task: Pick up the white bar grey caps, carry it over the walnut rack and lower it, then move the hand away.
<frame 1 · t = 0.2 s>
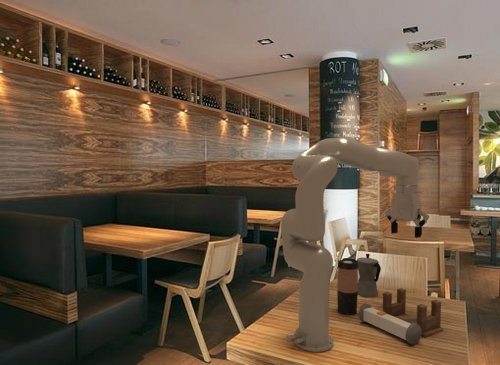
hand: (405, 235, 141), 31 cm above the table, fingers open, 9 cm apart
coffeepot: (368, 295, 165), on the table
white bar grey caps: (388, 332, 128), on the table
travel mug: (347, 312, 146), on the table
walnut rack: (410, 324, 134), on the table
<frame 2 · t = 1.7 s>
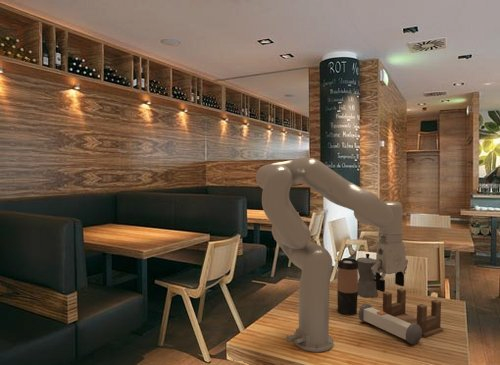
hand: (390, 287, 127), 15 cm above the table, fingers open, 9 cm apart
nothing on the table moved.
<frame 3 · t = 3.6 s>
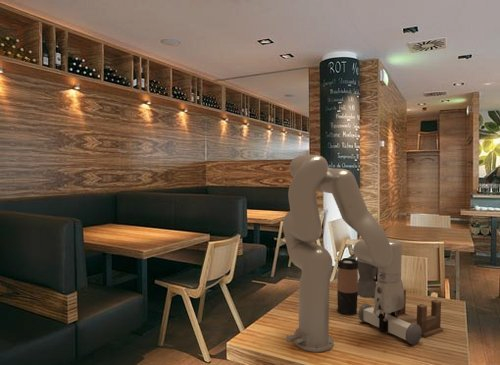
hand: (388, 328, 128), 1 cm above the table, fingers closed on white bar grey caps, 4 cm apart
white bar grey caps: (388, 332, 128), on the table, touching gripper
everything else where it was.
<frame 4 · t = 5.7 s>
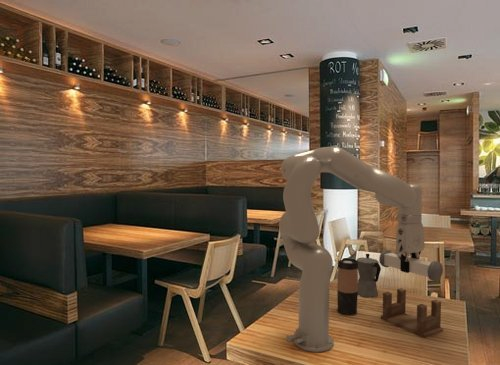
hand: (409, 270, 132), 20 cm above the table, fingers closed on white bar grey caps, 4 cm apart
white bar grey caps: (409, 273, 132), point 19 cm above the table, touching gripper
everything else where it was.
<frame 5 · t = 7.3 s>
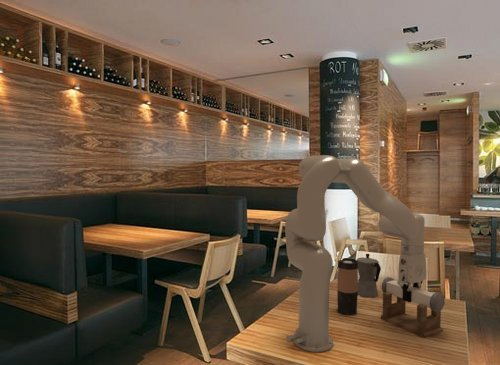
hand: (411, 299, 134), 9 cm above the table, fingers closed on white bar grey caps, 4 cm apart
white bar grey caps: (411, 302, 134), point 8 cm above the table, touching gripper
everything else where it was.
when the fingers open (6 cm above the table, at t = 8.2 s): white bar grey caps stays where it is, resting on walnut rack.
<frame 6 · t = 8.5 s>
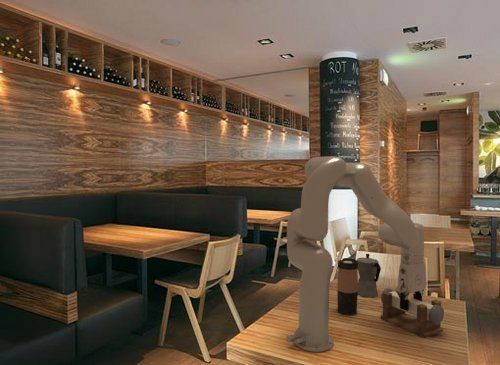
hand: (410, 307, 134), 6 cm above the table, fingers open, 6 cm apart
white bar grey caps: (410, 314, 134), point 4 cm above the table, touching walnut rack
everything else where it was.
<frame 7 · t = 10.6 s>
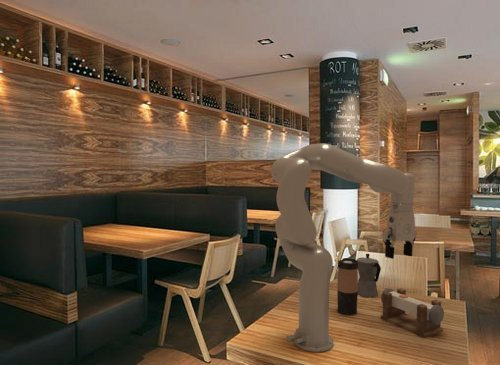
hand: (398, 256, 132), 25 cm above the table, fingers open, 9 cm apart
nothing on the table moved.
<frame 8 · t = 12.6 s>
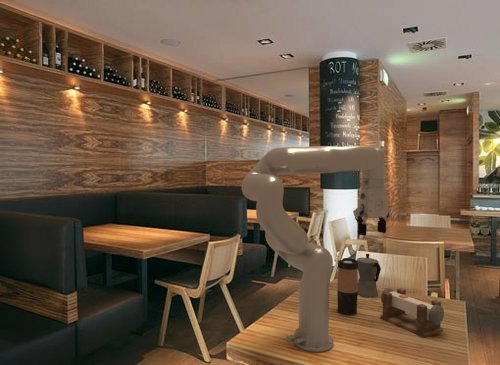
hand: (372, 233, 129), 33 cm above the table, fingers open, 9 cm apart
nothing on the table moved.
at the end: white bar grey caps 0.1 cm off-centre on the walnut rack, point 3.8 cm above the walnut rack's base; white bar grey caps tilted 0°; the gripper is holding nothing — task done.
